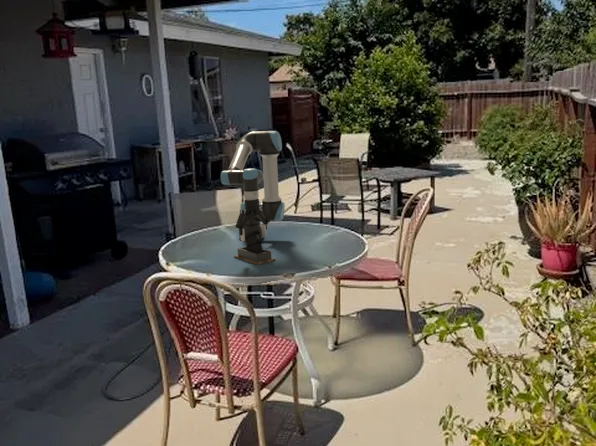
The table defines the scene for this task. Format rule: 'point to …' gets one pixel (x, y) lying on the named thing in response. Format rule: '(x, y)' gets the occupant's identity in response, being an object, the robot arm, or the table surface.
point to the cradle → (254, 254)
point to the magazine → (254, 242)
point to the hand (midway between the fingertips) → (253, 238)
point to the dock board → (254, 261)
